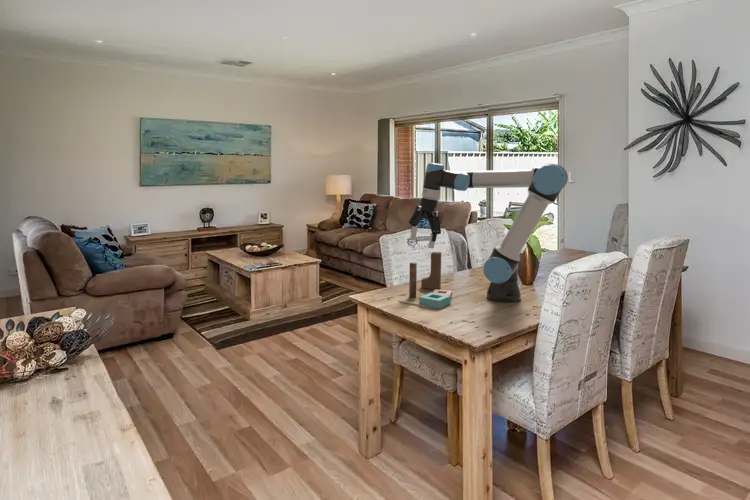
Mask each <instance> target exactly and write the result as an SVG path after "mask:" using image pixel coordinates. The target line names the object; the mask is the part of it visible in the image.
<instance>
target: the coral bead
mask: <svg viewBox="0 0 750 500" xmlns="http://www.w3.org/2000/svg"><path fill="white" fill-rule="evenodd" d="M433 290H434V291H433V292H432V293H437V294H443V295H449V296H451V299H452V298H453V290H448V289H447V290H445V289H439V290H438V289H433Z"/></svg>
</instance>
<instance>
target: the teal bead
mask: <svg viewBox="0 0 750 500" xmlns="http://www.w3.org/2000/svg"><path fill="white" fill-rule="evenodd" d="M418 300H419V302H418V304H422V305H426V307H428V308H434V309H442V308H444V307H446V306H448V305H451V302H452V301H451V300H452V298H451V296H449V295H443V294H437V293H433V292H428V293H427V294H424V295H420V296H419V299H418Z"/></svg>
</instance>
